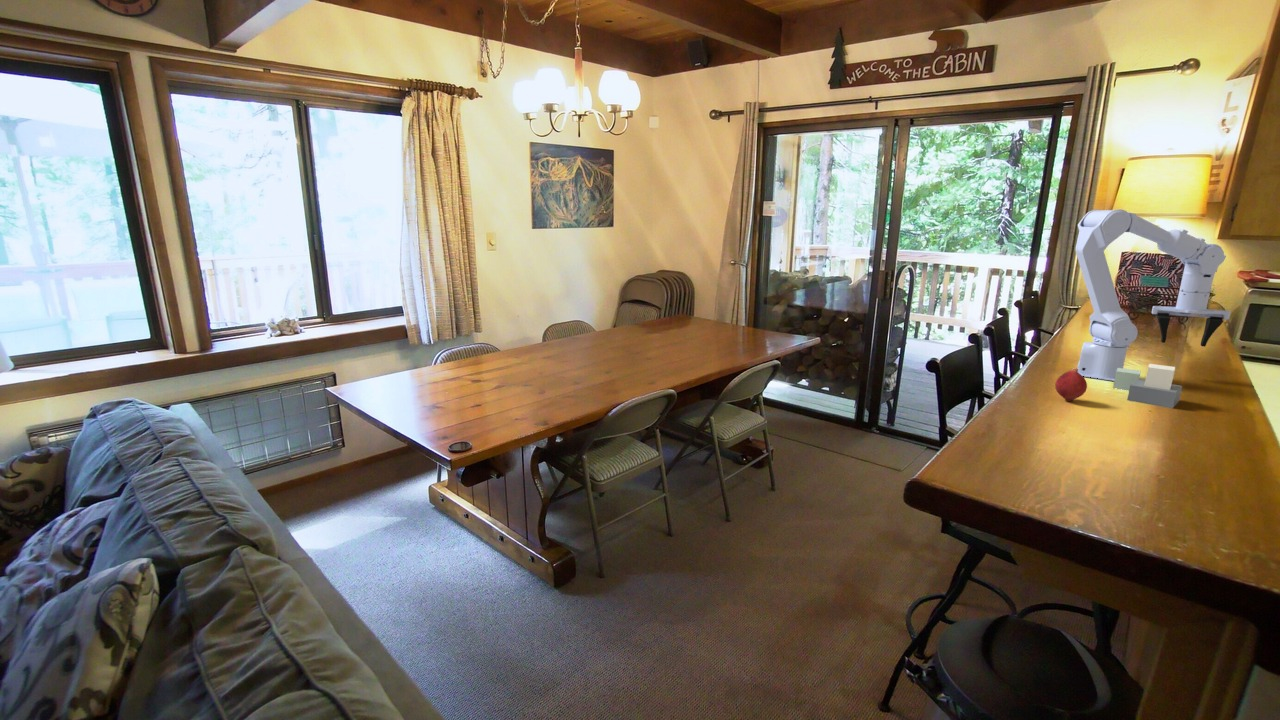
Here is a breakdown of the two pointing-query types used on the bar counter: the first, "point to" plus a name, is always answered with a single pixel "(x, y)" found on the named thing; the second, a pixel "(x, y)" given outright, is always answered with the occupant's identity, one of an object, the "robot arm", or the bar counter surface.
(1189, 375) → the bar counter surface
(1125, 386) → the sage block
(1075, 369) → the onion
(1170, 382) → the cream block
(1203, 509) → the bar counter surface
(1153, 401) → the base block
